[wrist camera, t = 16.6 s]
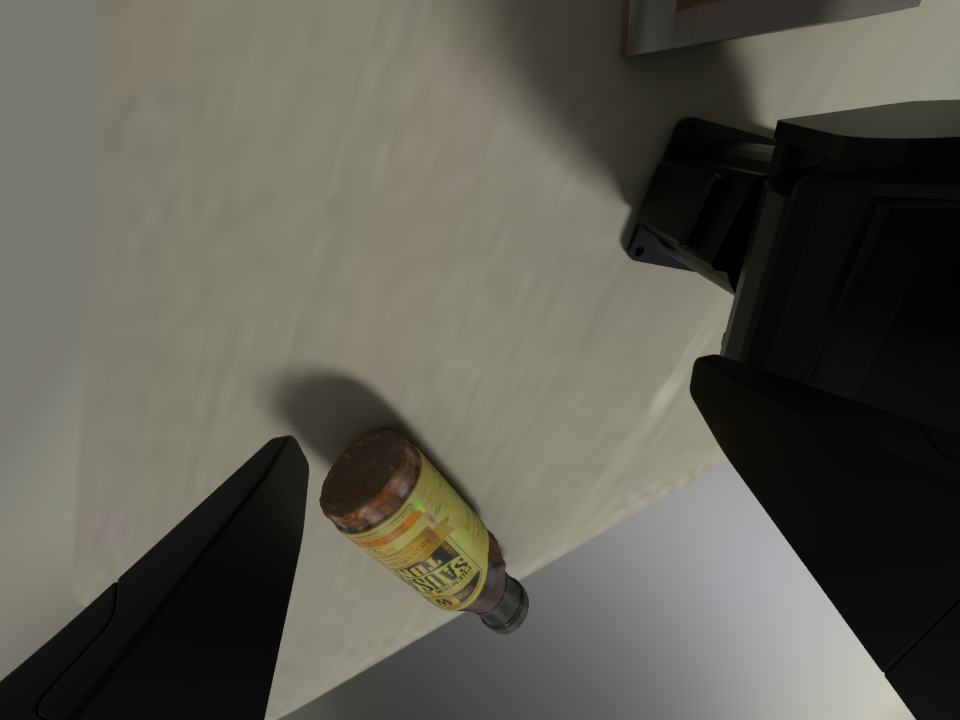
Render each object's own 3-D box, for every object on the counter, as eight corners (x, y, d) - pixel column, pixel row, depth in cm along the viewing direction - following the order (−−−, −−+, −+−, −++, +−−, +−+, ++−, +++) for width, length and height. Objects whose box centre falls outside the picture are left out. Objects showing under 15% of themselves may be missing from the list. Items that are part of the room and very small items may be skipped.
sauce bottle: (383, 503, 20) (552, 649, 29) (412, 410, 24) (548, 563, 34) (289, 529, 22) (474, 656, 32) (333, 440, 27) (481, 574, 37)
